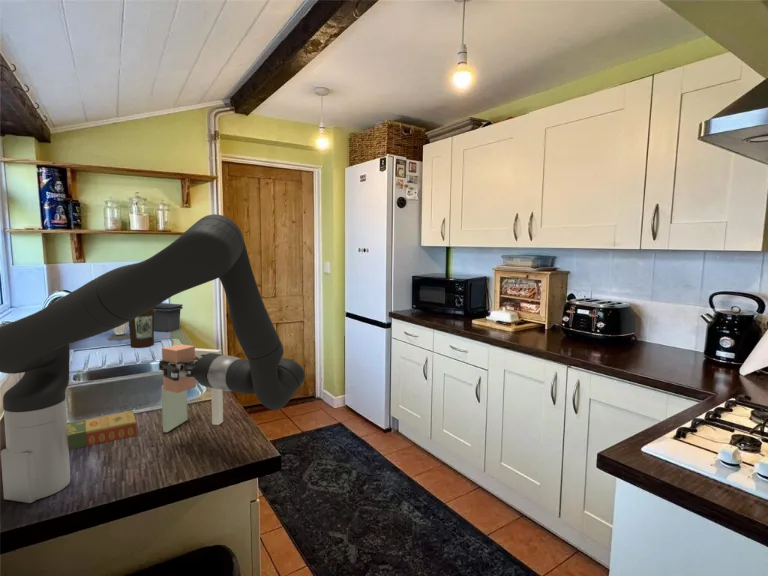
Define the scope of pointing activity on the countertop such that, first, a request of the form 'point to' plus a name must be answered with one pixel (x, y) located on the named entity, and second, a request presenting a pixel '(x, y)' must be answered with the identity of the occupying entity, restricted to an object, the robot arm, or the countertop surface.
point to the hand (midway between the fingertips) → (171, 362)
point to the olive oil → (142, 330)
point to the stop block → (176, 355)
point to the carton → (101, 429)
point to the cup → (120, 333)
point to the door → (173, 409)
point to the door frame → (214, 392)
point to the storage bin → (167, 317)
